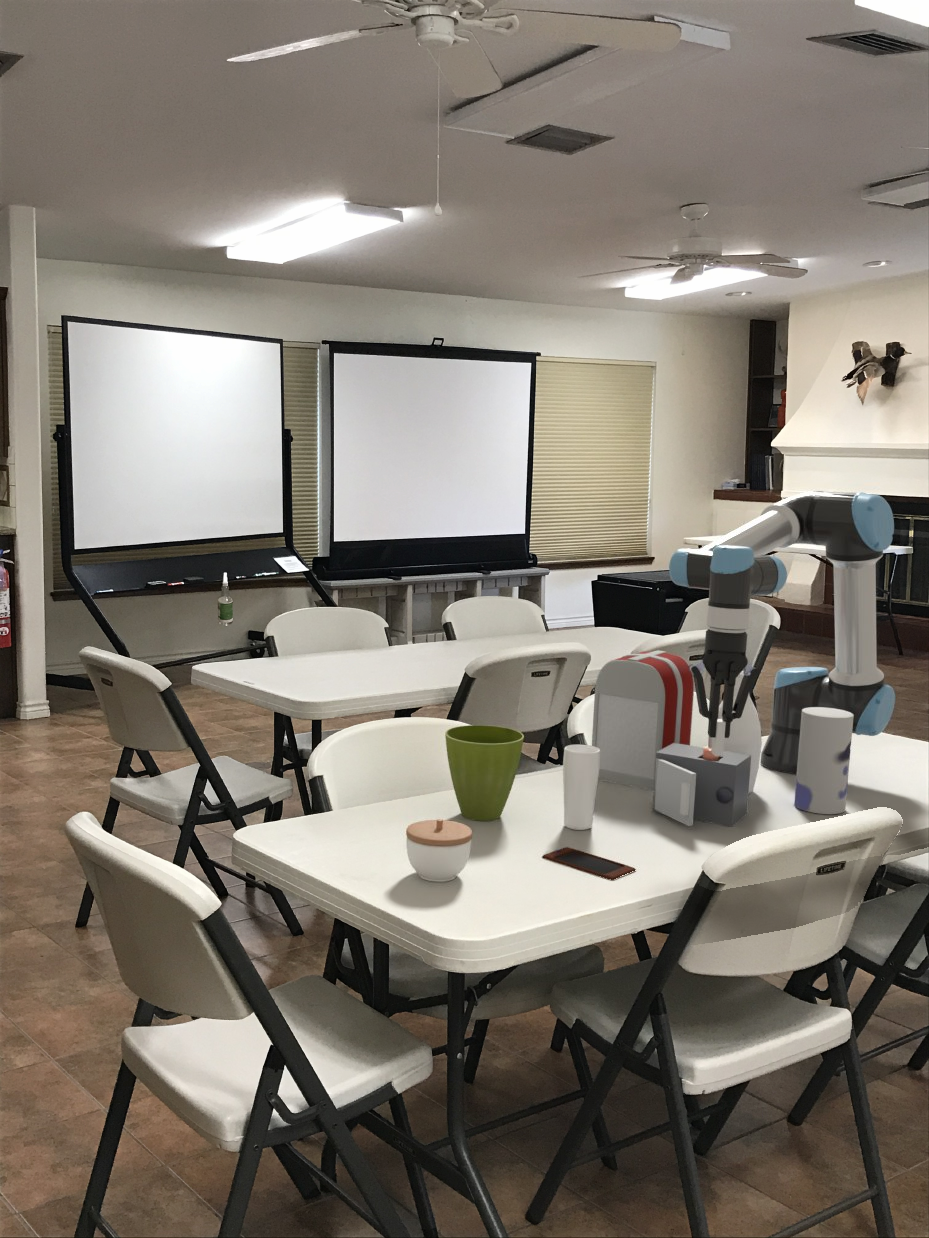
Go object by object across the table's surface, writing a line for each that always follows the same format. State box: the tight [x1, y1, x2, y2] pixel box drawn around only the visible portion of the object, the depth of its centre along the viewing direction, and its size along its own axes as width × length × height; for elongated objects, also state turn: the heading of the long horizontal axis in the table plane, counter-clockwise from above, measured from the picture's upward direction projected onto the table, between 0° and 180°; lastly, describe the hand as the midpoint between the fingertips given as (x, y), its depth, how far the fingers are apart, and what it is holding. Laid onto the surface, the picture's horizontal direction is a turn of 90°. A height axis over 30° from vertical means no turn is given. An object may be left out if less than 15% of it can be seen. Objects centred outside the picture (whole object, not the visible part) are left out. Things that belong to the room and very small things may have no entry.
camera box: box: [652, 743, 751, 828], centre depth 234 cm, size 11×16×12 cm
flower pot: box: [444, 724, 525, 822], centre depth 226 cm, size 15×15×16 cm
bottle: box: [707, 670, 763, 795], centre depth 252 cm, size 11×11×25 cm
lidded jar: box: [405, 818, 473, 883], centre depth 193 cm, size 11×11×9 cm
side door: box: [652, 758, 696, 827], centre depth 228 cm, size 2×12×10 cm, turn 26°
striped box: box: [591, 649, 695, 792], centre depth 260 cm, size 17×18×27 cm
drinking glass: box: [562, 744, 600, 831], centre depth 222 cm, size 7×7×15 cm
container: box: [793, 707, 854, 815], centre depth 241 cm, size 10×10×20 cm
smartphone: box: [541, 846, 637, 881], centre depth 203 cm, size 7×1×15 cm
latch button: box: [703, 747, 719, 761], centre depth 231 cm, size 3×3×2 cm
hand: (717, 754), depth 223 cm, fingers closed
